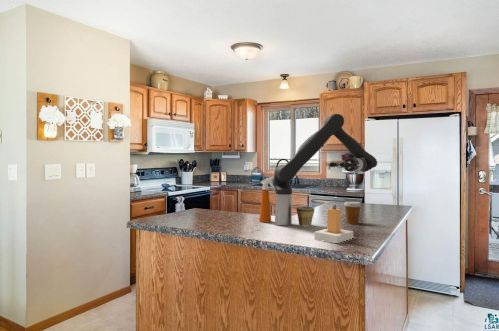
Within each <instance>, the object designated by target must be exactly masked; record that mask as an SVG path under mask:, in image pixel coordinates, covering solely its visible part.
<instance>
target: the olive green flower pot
mask: <svg viewBox="0 0 499 331" xmlns="http://www.w3.org/2000/svg"><path fill="white" fill-rule="evenodd" d="M295 208H296V214H297V220H298V224H299V225H300V226H299V227H302V226H306V227H305V228H309V227H308V226H310V227H311V226H312V222H313V218H314V213H315V208H316V207H313V206H307V205H306V206H304V205H303V206H302V205H301V206H297V207H295Z"/></svg>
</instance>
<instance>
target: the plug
mask: <svg viewBox="0 0 499 331" xmlns="http://www.w3.org/2000/svg"><path fill="white" fill-rule="evenodd" d="M326 219H327V220H326V221H327V228H326V229H327V232H329V233H334V234H338V233H341V229H342V223H341V222H342V209H339V208H337V205H336V204H332V208H327V218H326Z"/></svg>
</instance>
